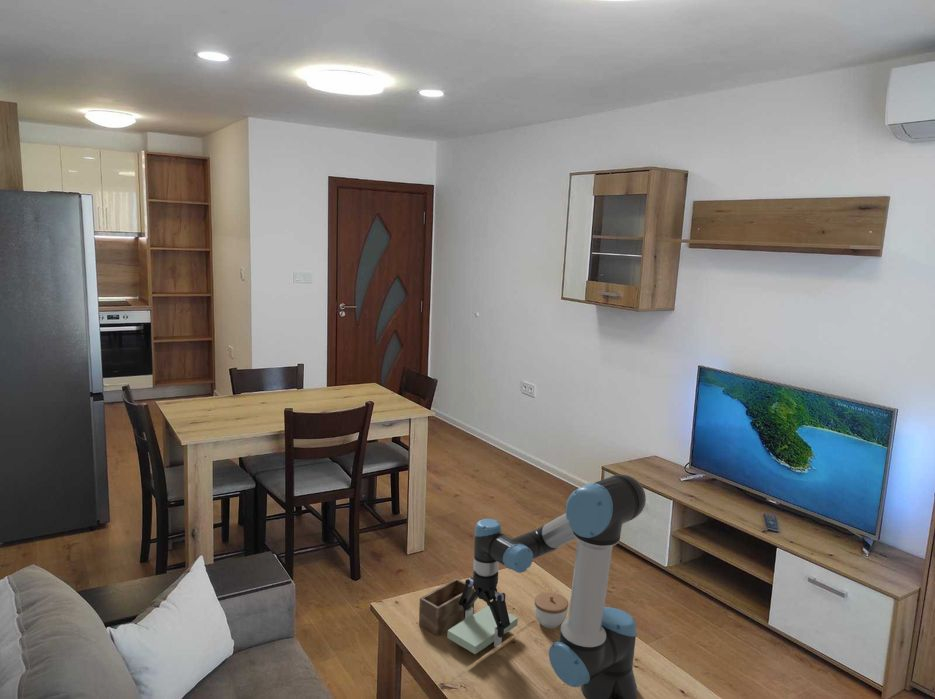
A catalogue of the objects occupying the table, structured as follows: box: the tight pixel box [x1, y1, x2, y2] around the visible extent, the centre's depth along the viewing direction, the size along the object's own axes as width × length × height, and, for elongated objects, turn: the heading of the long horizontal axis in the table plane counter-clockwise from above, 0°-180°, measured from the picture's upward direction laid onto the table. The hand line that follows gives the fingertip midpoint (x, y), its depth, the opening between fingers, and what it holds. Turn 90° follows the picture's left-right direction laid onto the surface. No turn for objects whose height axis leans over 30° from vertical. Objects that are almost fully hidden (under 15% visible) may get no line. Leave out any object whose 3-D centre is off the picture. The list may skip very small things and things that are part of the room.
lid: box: [446, 605, 519, 655], centre depth 204 cm, size 20×11×4 cm, turn 138°
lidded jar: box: [534, 591, 569, 629], centre depth 215 cm, size 11×11×9 cm
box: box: [418, 578, 475, 637], centre depth 213 cm, size 17×8×10 cm, turn 138°
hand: (482, 636), depth 204 cm, fingers closed on lid, 11 cm apart
